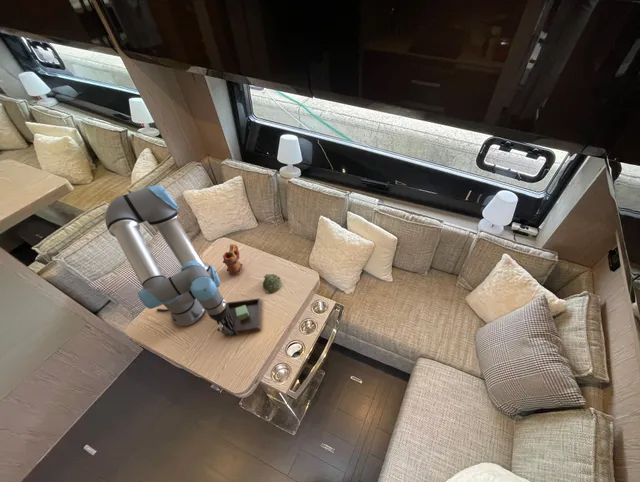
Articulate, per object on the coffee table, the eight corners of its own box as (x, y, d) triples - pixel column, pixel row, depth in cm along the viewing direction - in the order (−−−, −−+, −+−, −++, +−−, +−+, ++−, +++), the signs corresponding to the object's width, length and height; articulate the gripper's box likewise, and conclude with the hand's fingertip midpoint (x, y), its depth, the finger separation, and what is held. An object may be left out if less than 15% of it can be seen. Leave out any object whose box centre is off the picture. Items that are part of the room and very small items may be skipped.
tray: (225, 335, 137) (223, 332, 134) (229, 305, 148) (227, 302, 145) (260, 330, 139) (258, 327, 136) (260, 301, 150) (259, 298, 148)
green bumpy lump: (270, 293, 151) (261, 277, 149) (264, 294, 157) (256, 279, 155) (285, 285, 158) (277, 269, 156) (279, 286, 163) (271, 271, 161)
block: (239, 321, 141) (236, 316, 137) (237, 313, 144) (235, 308, 140) (249, 317, 143) (247, 312, 139) (247, 309, 146) (245, 304, 142)
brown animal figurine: (240, 277, 160) (233, 260, 149) (226, 277, 160) (217, 260, 149) (247, 259, 170) (240, 241, 158) (234, 258, 169) (226, 241, 158)
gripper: (224, 320, 103) (242, 346, 121) (228, 292, 111) (243, 320, 129) (203, 323, 102) (224, 349, 120) (208, 294, 110) (227, 322, 128)
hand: (234, 334), depth 125 cm, fingers closed
